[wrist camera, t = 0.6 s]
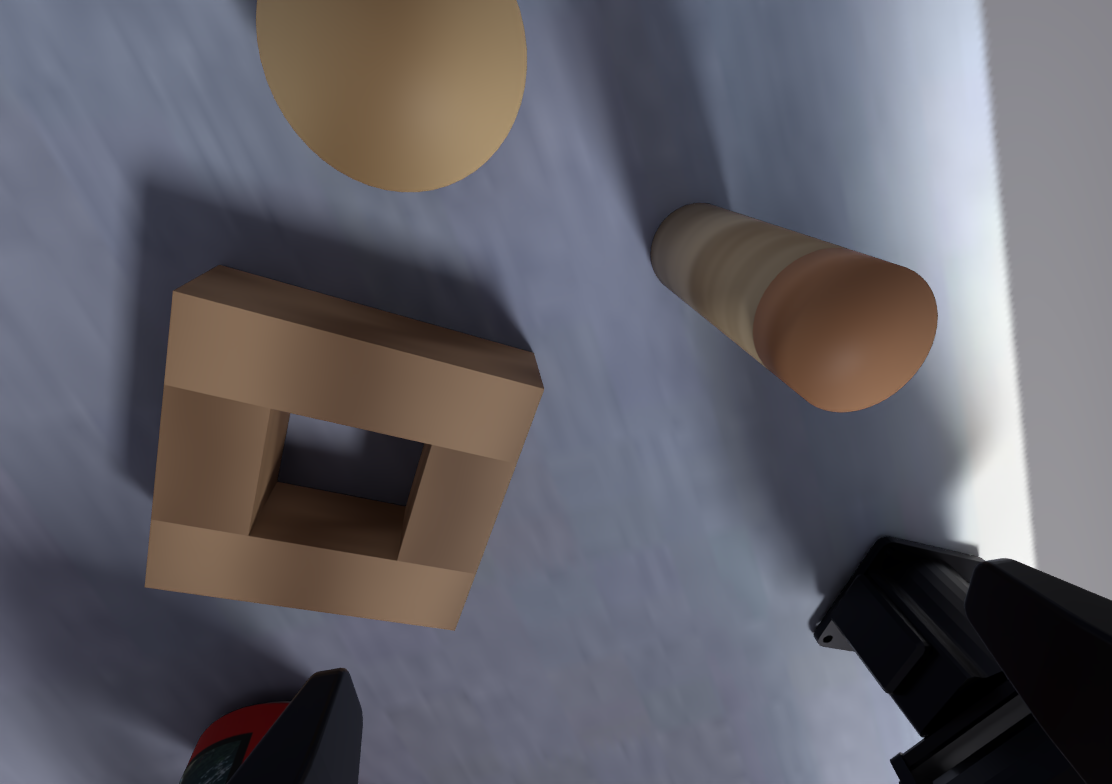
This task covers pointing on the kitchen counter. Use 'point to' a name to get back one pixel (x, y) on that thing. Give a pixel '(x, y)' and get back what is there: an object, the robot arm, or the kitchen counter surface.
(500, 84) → the tan rounded disc
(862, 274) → the wooden dowel
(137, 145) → the kitchen counter surface
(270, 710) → the beverage can
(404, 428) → the square wooden frame
